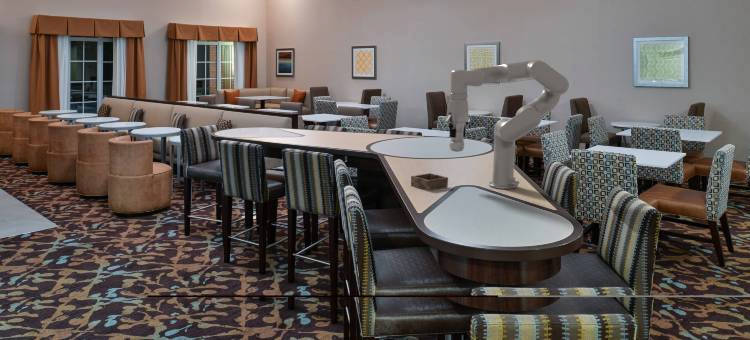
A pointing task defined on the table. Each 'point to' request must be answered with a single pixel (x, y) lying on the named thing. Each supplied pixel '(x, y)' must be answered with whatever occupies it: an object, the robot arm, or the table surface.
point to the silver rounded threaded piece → (458, 136)
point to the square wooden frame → (429, 181)
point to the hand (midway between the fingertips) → (457, 136)
